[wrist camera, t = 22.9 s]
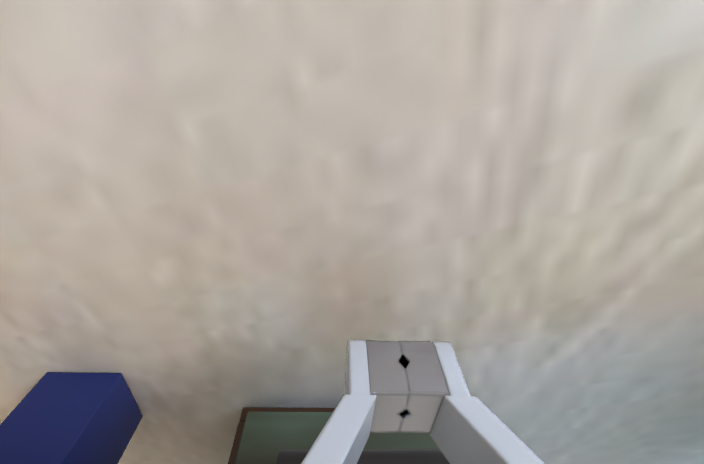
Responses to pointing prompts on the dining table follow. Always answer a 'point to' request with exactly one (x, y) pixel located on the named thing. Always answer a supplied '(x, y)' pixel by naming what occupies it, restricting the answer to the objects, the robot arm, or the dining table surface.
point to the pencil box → (71, 421)
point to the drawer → (304, 427)
